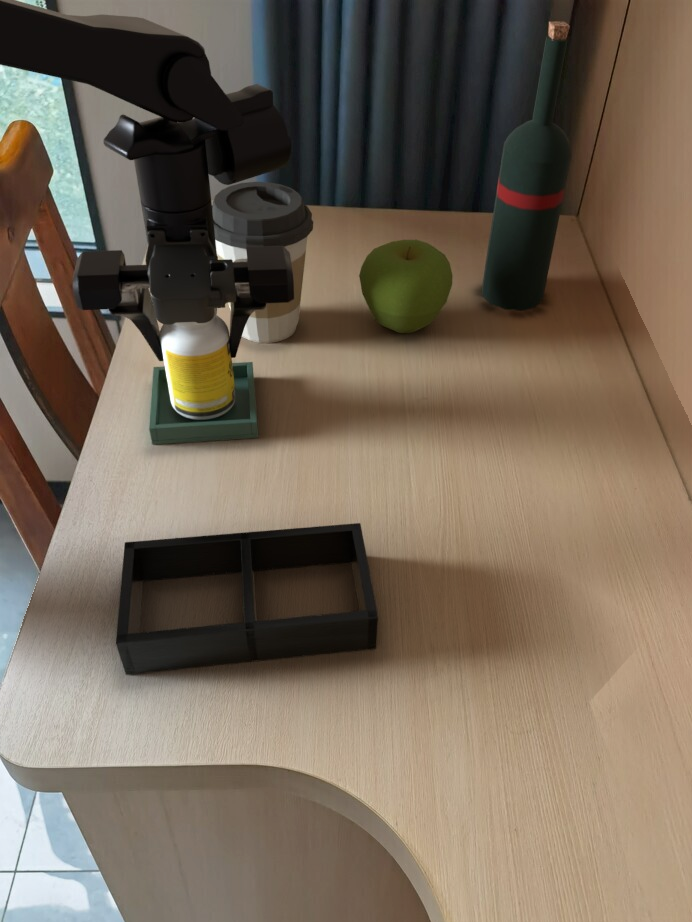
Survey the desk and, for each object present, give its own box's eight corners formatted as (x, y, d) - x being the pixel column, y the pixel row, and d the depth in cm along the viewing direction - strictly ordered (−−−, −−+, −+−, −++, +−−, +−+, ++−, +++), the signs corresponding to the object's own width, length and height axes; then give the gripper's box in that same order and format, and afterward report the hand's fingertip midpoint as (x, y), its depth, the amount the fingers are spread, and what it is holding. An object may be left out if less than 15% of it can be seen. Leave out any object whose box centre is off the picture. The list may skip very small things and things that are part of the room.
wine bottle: (526, 268, 106) (574, 7, 85) (551, 308, 99) (611, 35, 78) (469, 271, 105) (503, 7, 83) (490, 312, 98) (534, 35, 76)
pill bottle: (238, 420, 79) (228, 317, 71) (171, 425, 78) (153, 322, 70) (233, 381, 84) (223, 280, 76) (170, 386, 83) (153, 284, 75)
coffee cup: (335, 328, 94) (336, 202, 83) (260, 366, 87) (251, 236, 77) (271, 290, 99) (264, 168, 88) (196, 324, 93) (179, 197, 82)
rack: (125, 675, 59) (115, 643, 56) (133, 574, 66) (124, 541, 63) (376, 648, 62) (378, 617, 59) (359, 555, 69) (360, 522, 66)
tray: (152, 444, 78) (148, 428, 76) (156, 382, 85) (153, 366, 83) (258, 437, 79) (257, 422, 78) (253, 377, 86) (252, 361, 85)
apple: (385, 292, 100) (389, 215, 93) (462, 316, 97) (472, 238, 90) (341, 332, 93) (342, 252, 86) (422, 360, 90) (429, 279, 83)
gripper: (44, 247, 59) (88, 414, 70) (296, 240, 62) (301, 402, 73) (62, 184, 67) (99, 344, 78) (286, 181, 70) (291, 335, 81)
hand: (197, 357), depth 77 cm, fingers closed on pill bottle, 6 cm apart
